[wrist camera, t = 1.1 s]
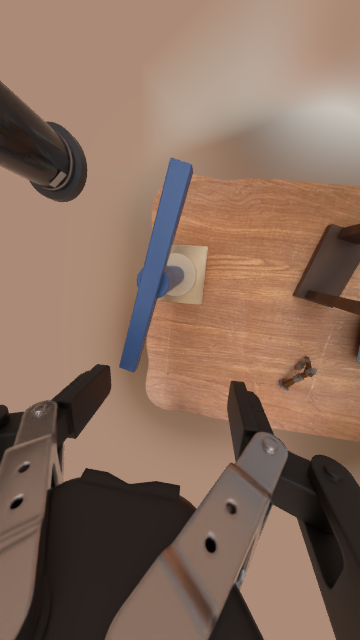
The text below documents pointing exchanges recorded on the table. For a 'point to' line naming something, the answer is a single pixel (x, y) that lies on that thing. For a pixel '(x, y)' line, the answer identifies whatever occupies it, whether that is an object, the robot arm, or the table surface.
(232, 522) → the robot arm
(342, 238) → the stand
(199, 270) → the riser
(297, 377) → the hanging lantern post
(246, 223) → the table surface
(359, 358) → the teapot
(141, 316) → the bar
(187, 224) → the table surface
